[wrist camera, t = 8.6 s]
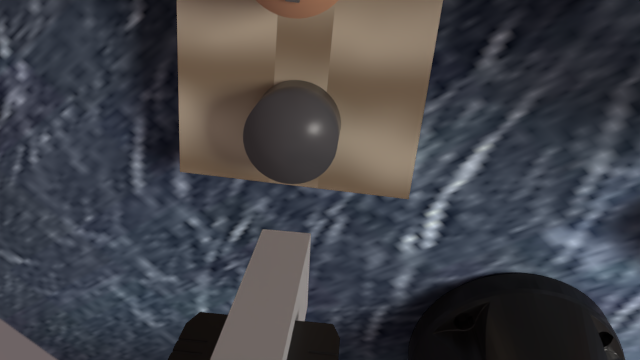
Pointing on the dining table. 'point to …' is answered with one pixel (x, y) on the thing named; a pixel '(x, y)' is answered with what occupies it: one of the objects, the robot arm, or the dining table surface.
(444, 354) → the robot arm
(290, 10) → the orange knob middle
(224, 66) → the mount
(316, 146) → the black knob
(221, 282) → the dining table surface
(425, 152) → the dining table surface
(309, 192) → the dining table surface
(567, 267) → the dining table surface
